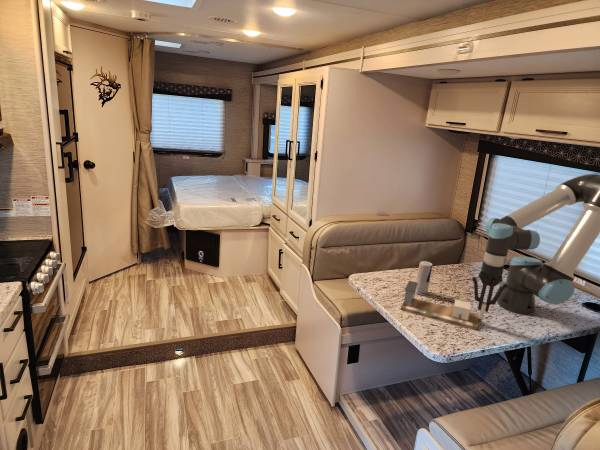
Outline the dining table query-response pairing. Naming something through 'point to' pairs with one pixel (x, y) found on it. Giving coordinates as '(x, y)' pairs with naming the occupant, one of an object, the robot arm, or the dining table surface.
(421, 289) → the beverage can
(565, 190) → the robot arm
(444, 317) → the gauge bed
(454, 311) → the cream cube with rod
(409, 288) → the two-tone oblong block
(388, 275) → the dining table surface
